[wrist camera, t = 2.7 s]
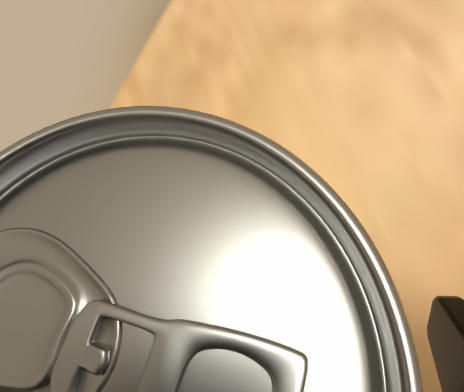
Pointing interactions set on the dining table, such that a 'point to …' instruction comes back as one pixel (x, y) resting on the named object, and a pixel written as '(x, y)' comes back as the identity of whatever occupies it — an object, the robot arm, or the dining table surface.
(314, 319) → the can
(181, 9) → the dining table surface
